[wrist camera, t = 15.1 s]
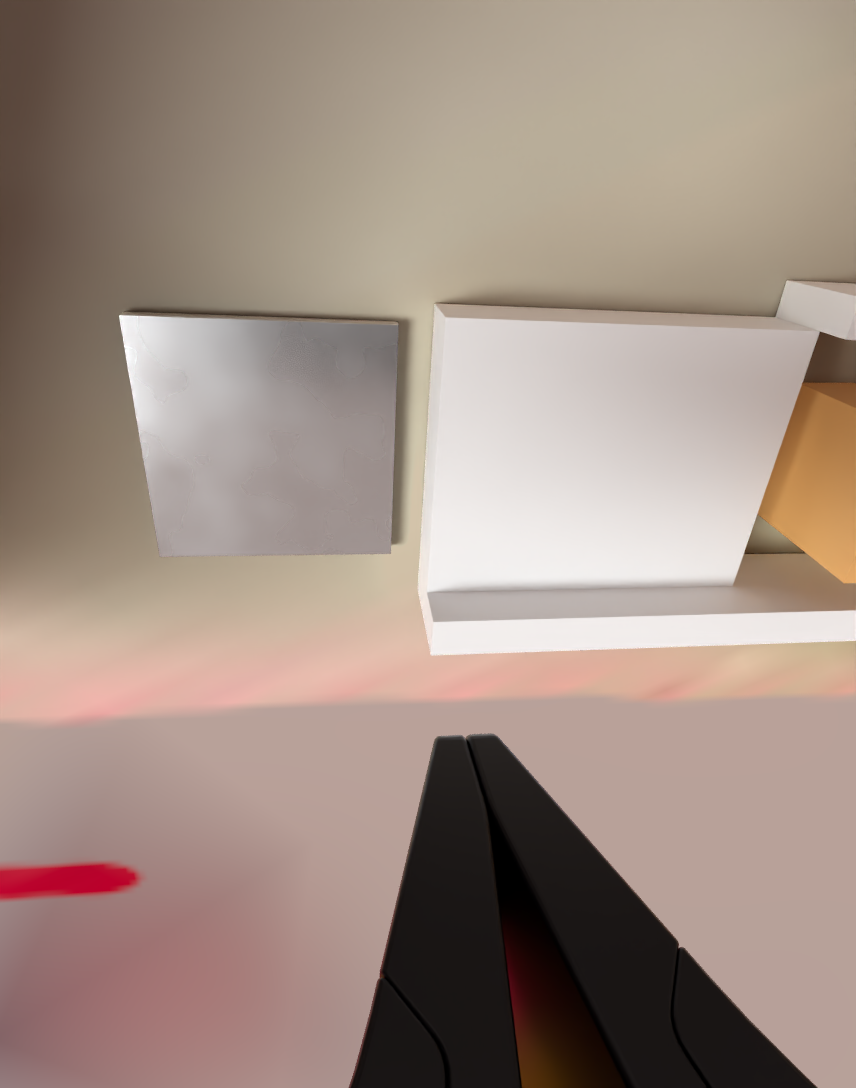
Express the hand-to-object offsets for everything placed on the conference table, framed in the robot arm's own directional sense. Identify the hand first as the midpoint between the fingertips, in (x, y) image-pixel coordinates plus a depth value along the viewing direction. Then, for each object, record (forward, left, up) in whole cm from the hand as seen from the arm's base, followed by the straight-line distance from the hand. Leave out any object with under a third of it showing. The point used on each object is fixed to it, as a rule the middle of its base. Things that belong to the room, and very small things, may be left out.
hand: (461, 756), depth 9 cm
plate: (0, -4, -12) cm, 12 cm away
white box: (0, +10, -12) cm, 16 cm away
